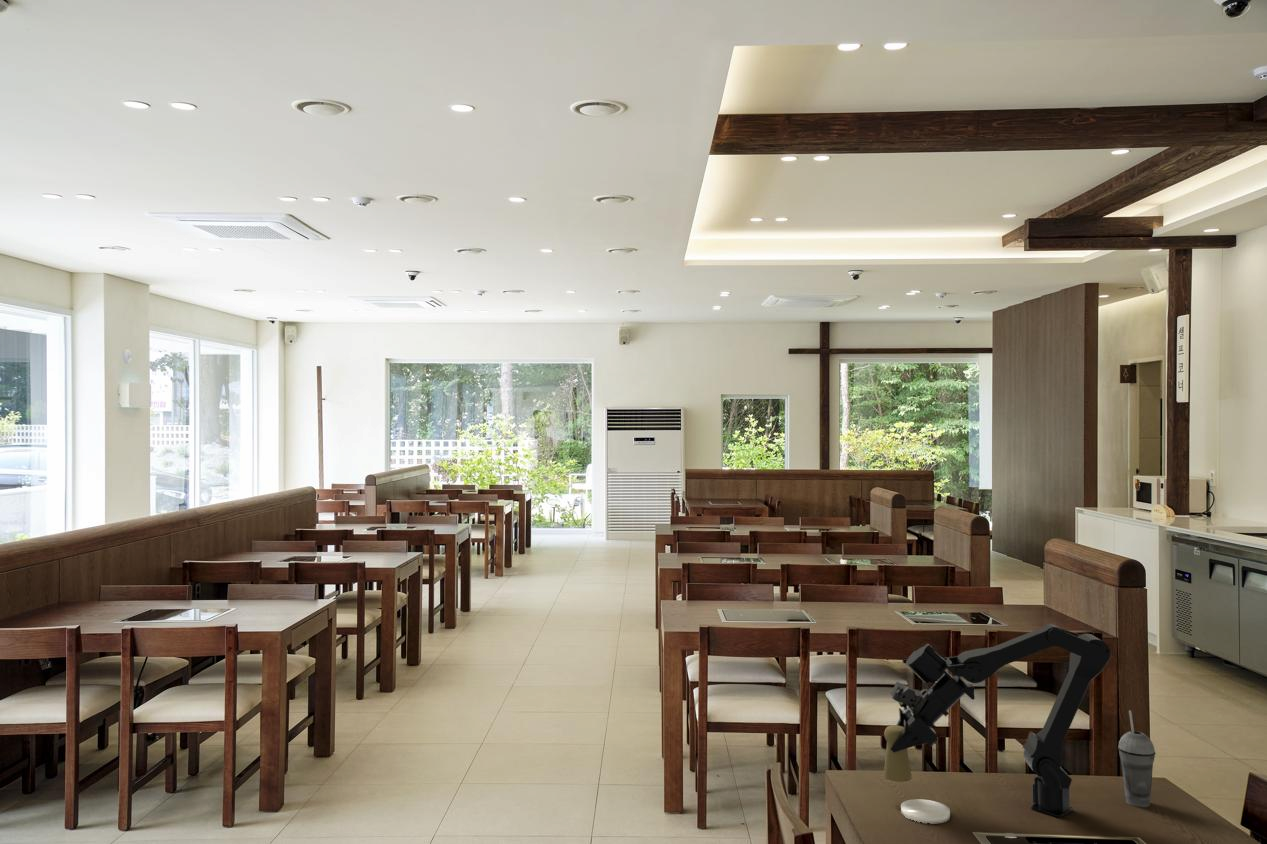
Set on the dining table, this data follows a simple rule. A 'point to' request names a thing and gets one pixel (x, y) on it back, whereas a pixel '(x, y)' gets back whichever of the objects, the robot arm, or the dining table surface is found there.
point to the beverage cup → (1137, 766)
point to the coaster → (925, 811)
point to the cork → (896, 757)
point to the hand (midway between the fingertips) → (890, 746)
